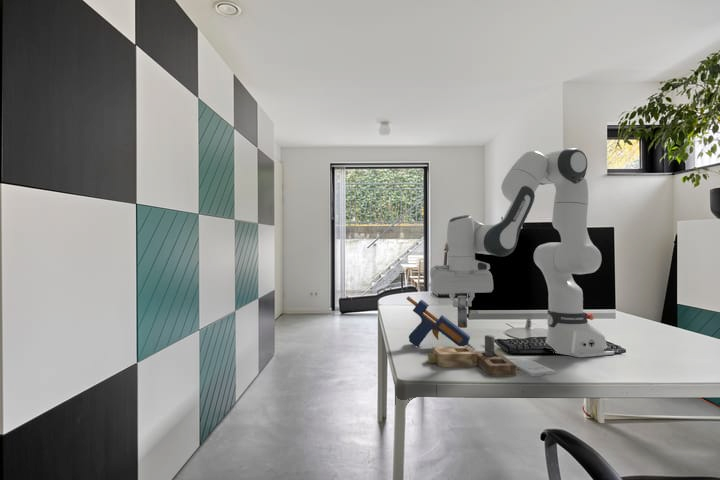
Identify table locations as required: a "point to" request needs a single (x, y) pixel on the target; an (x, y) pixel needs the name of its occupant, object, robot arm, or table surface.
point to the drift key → (432, 358)
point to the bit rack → (494, 360)
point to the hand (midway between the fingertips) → (462, 306)
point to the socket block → (455, 356)
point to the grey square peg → (462, 311)
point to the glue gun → (435, 327)
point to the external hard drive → (532, 367)
